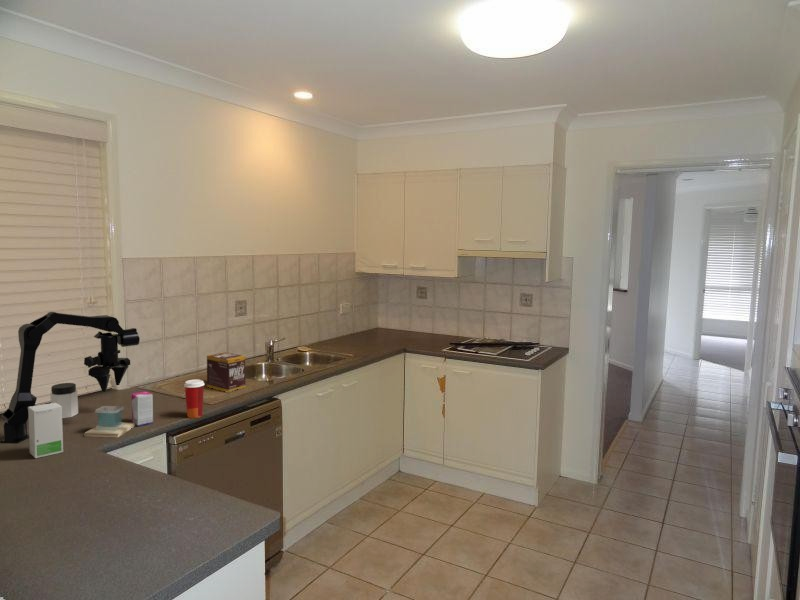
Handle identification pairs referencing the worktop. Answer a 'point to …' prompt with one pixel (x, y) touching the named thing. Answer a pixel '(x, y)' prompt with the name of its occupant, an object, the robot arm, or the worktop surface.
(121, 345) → the robot arm
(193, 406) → the paper cup
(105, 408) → the housing
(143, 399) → the supplement box
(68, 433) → the worktop surface
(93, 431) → the birch stand
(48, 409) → the skincare box
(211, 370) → the supplement box
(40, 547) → the worktop surface
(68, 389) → the jar
